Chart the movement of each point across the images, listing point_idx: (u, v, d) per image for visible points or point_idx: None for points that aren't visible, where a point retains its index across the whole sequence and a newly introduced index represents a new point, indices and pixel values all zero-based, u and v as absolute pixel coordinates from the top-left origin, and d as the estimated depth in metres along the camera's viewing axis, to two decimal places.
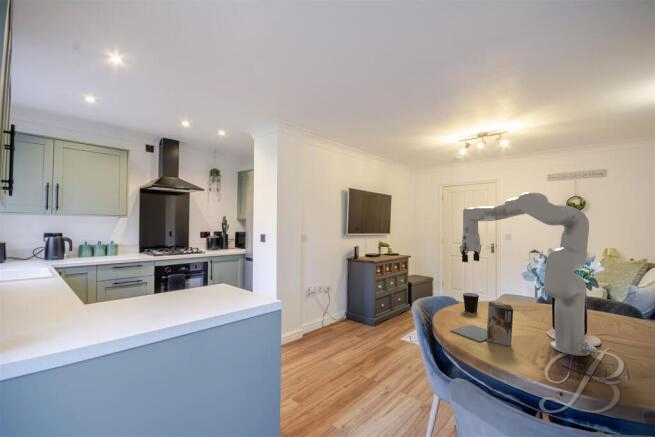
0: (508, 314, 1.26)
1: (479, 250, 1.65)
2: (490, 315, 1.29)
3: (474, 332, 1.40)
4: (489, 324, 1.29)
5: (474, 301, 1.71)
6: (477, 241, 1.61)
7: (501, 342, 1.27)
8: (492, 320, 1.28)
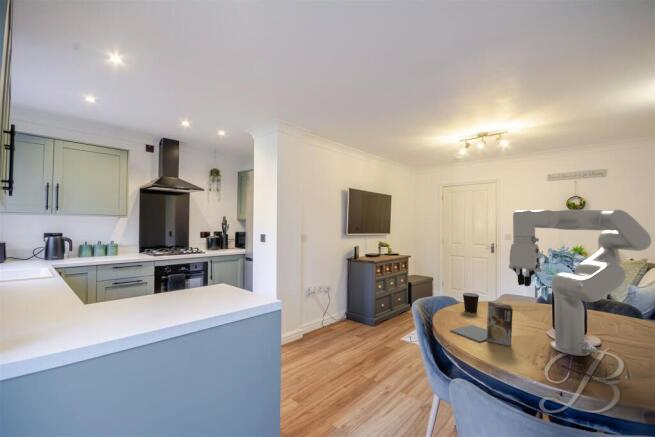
0: (508, 314, 1.26)
1: None
2: (490, 315, 1.29)
3: (474, 332, 1.40)
4: (489, 324, 1.29)
5: (474, 301, 1.71)
6: None
7: (501, 342, 1.27)
8: (491, 319, 1.29)
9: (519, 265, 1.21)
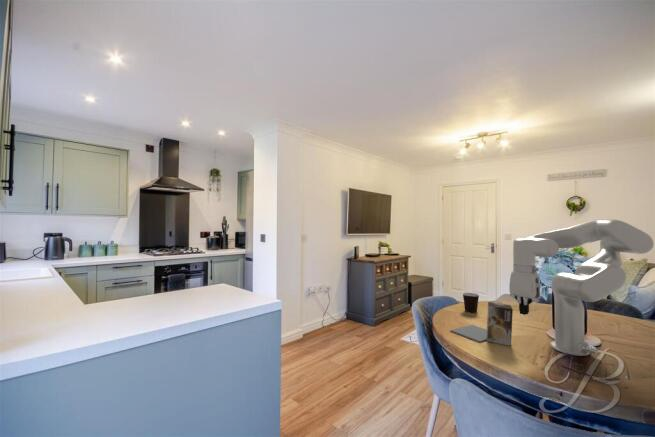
0: (508, 314, 1.26)
1: None
2: (490, 315, 1.29)
3: (474, 332, 1.40)
4: (489, 324, 1.29)
5: (474, 301, 1.71)
6: None
7: (501, 342, 1.27)
8: (491, 319, 1.29)
9: (519, 294, 1.21)
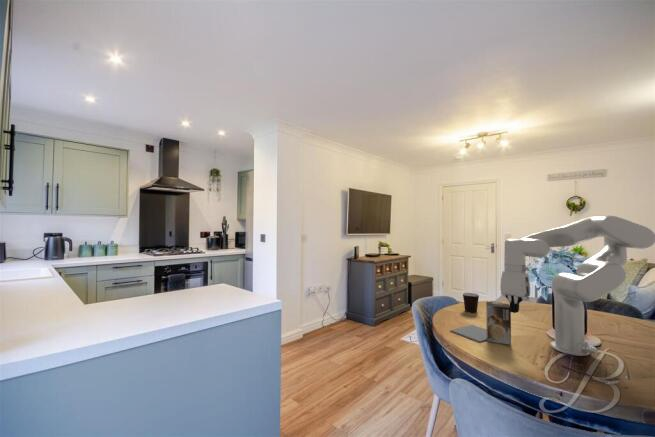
0: (506, 312, 1.26)
1: None
2: (488, 314, 1.29)
3: (474, 332, 1.40)
4: (488, 323, 1.30)
5: (474, 301, 1.71)
6: None
7: (500, 341, 1.28)
8: (490, 319, 1.29)
9: (509, 292, 1.24)
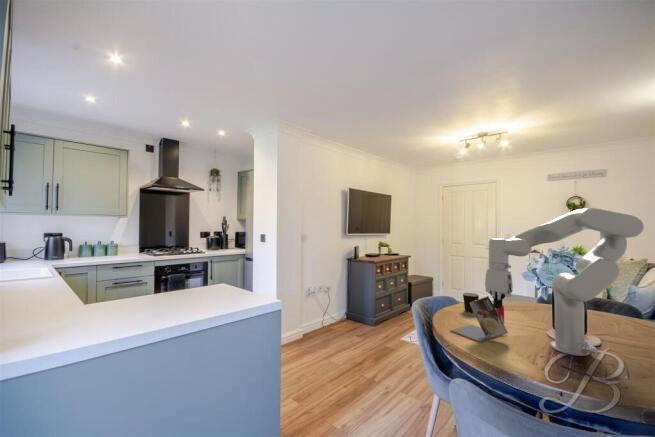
0: (487, 303, 1.32)
1: None
2: (474, 311, 1.34)
3: (474, 332, 1.40)
4: (479, 321, 1.32)
5: None
6: None
7: (497, 333, 1.28)
8: (478, 315, 1.33)
9: (493, 289, 1.30)
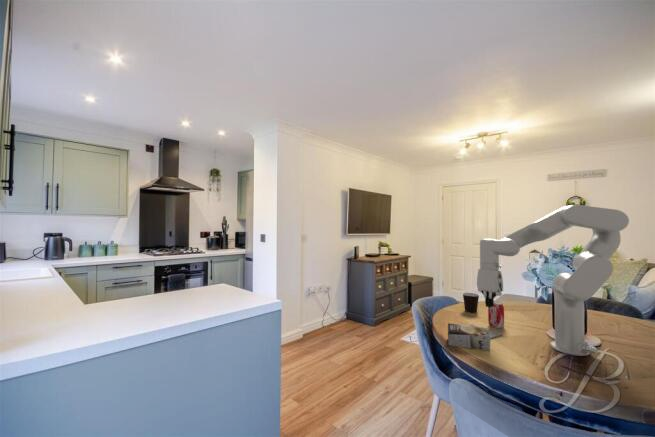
0: None
1: None
2: None
3: None
4: None
5: (474, 301, 1.71)
6: None
7: None
8: None
9: (484, 288, 1.34)
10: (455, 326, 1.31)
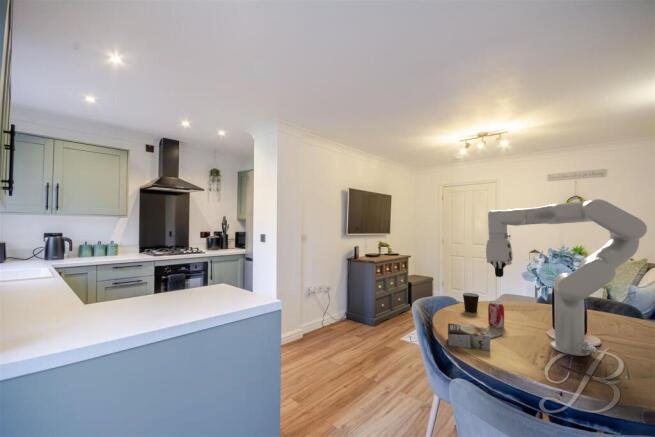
0: None
1: None
2: None
3: None
4: None
5: (474, 301, 1.71)
6: None
7: None
8: None
9: (494, 259, 1.36)
10: (455, 326, 1.31)
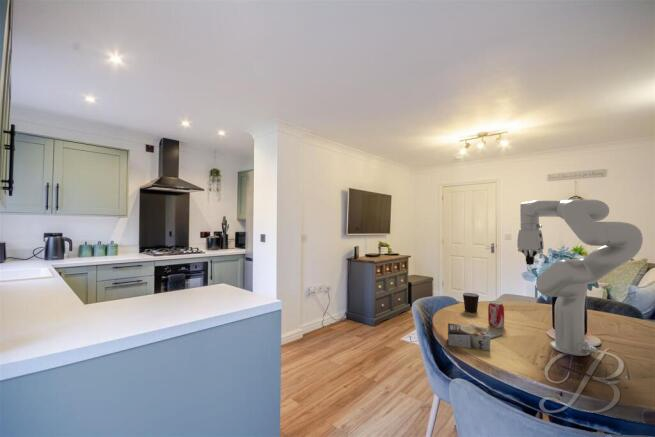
0: None
1: None
2: None
3: None
4: None
5: (474, 301, 1.71)
6: None
7: None
8: None
9: (525, 247, 1.45)
10: (455, 326, 1.31)
